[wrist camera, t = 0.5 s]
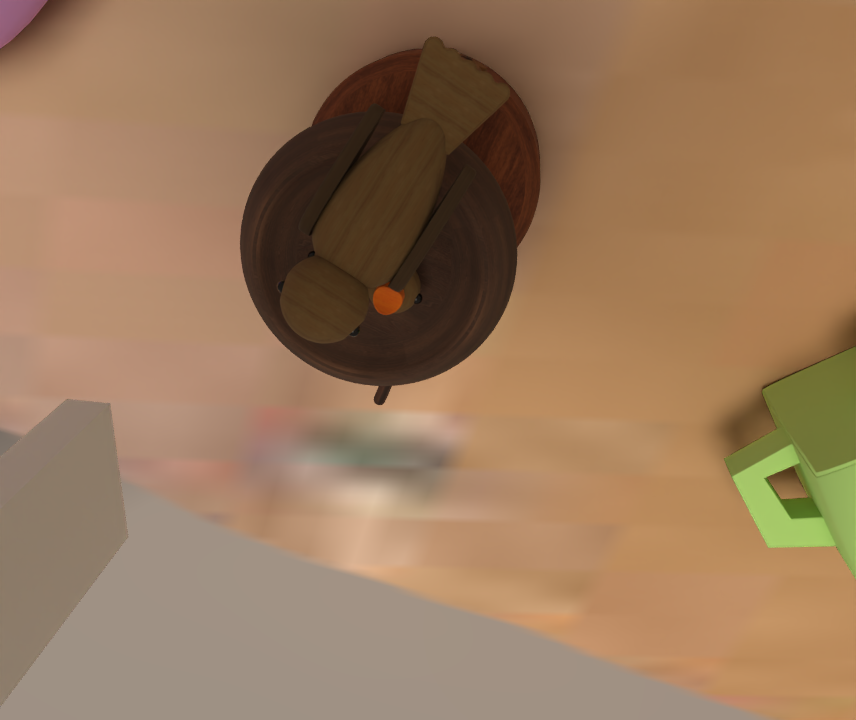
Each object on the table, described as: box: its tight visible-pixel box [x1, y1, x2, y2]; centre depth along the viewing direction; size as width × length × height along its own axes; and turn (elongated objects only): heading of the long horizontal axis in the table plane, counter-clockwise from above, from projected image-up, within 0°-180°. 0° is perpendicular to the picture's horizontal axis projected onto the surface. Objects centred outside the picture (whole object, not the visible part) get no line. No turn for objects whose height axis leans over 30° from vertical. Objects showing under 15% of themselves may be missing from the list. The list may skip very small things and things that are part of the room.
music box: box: [240, 37, 540, 405], centre depth 30 cm, size 15×11×20 cm
